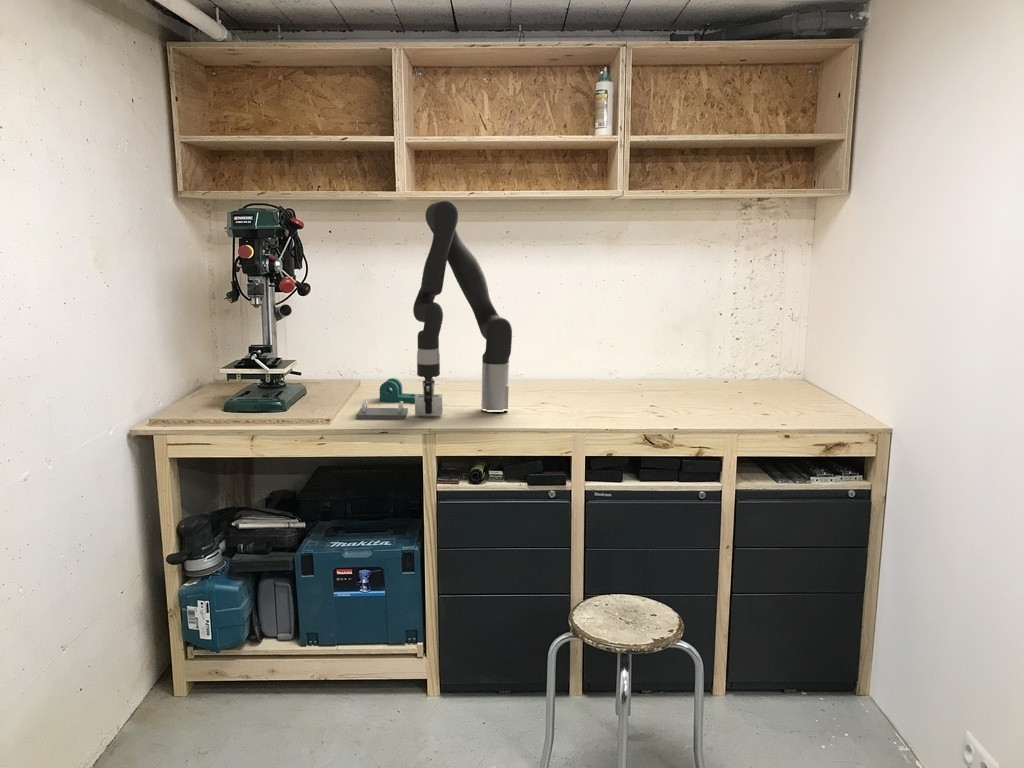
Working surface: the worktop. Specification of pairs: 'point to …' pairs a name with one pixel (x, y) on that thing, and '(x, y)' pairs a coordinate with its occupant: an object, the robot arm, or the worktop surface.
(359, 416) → the grey wall plate
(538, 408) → the worktop surface
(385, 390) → the bracket
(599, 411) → the worktop surface
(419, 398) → the block
